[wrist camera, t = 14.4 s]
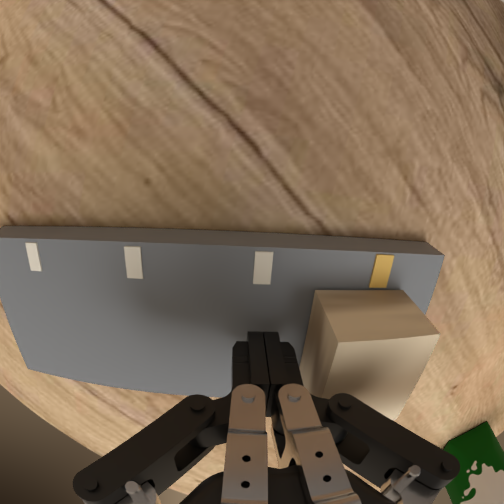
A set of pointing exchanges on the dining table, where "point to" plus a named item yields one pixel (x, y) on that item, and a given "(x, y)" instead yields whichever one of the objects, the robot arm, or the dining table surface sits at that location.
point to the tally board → (181, 296)
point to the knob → (366, 347)
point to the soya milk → (477, 467)
